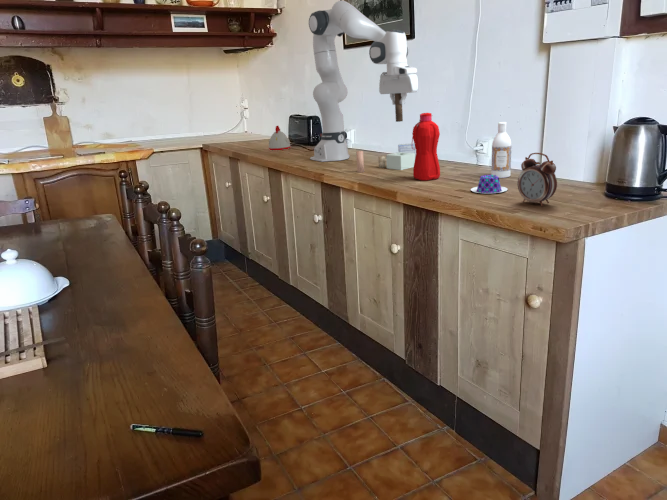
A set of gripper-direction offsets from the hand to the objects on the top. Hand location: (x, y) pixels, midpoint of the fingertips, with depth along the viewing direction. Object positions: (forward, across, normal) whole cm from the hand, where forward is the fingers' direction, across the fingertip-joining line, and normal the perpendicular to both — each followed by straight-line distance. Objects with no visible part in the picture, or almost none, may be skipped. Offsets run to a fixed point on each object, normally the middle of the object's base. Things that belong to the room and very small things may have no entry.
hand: (398, 104), depth 222 cm
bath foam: (+28, +49, +3) cm, 57 cm away
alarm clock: (+28, +82, -28) cm, 91 cm away
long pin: (+7, 0, 0) cm, 7 cm away
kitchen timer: (+27, -123, +15) cm, 127 cm away
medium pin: (+27, -9, -16) cm, 33 cm away
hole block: (+27, 0, 0) cm, 27 cm away
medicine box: (+28, -7, +11) cm, 30 cm away
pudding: (+28, +60, -20) cm, 69 cm away
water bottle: (+28, +27, -15) cm, 42 cm away
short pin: (+27, -9, -3) cm, 29 cm away
